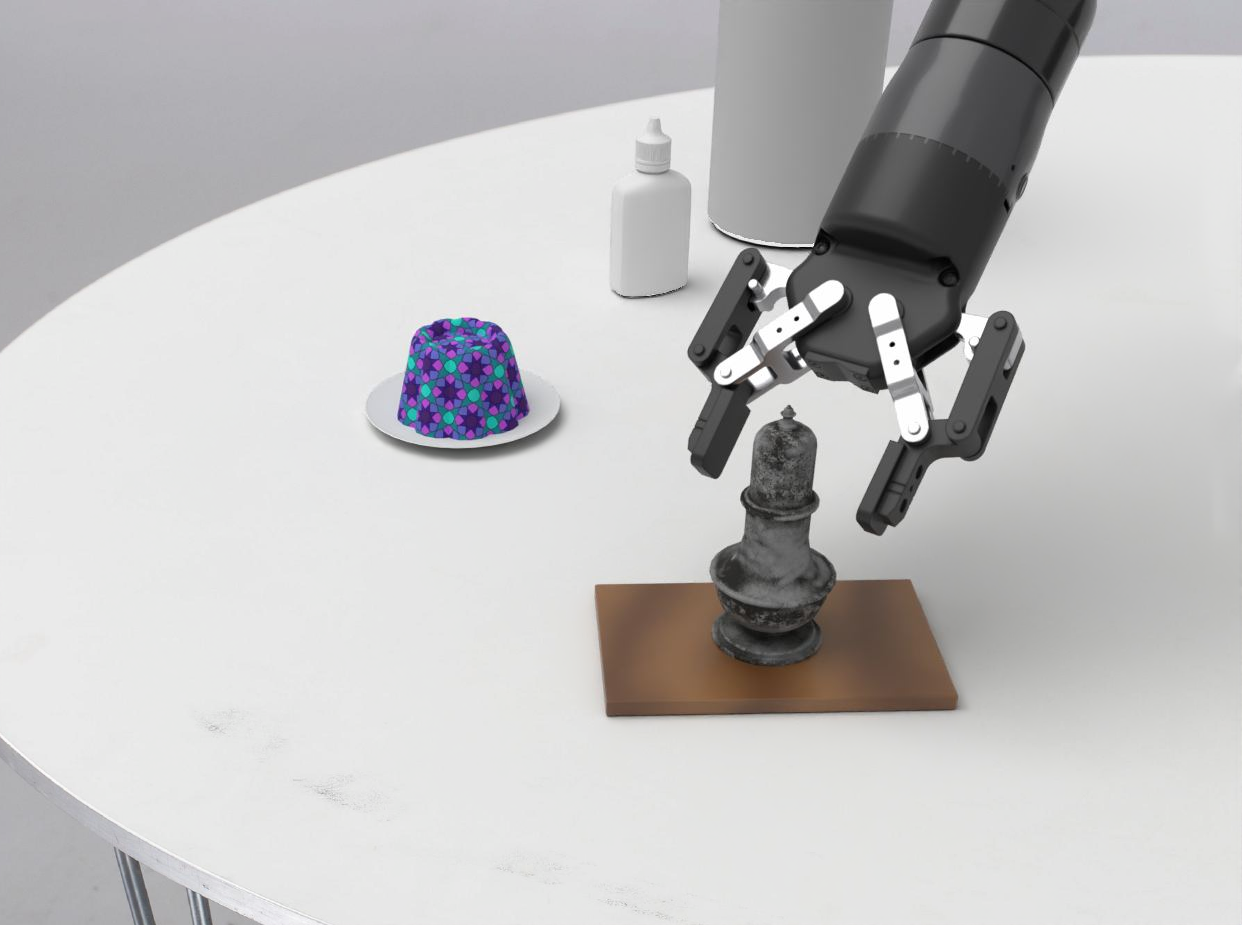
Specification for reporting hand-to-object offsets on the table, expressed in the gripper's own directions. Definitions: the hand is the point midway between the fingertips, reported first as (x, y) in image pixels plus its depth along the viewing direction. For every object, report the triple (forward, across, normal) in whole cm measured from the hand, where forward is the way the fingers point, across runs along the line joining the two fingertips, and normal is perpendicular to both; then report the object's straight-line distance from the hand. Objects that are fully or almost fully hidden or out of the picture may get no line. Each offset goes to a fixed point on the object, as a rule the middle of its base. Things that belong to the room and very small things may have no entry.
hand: (783, 499), depth 68 cm
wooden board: (+6, 0, +6) cm, 9 cm away
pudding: (-2, -29, +14) cm, 32 cm away
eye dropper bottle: (-18, -31, +30) cm, 47 cm away
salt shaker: (+5, 0, +6) cm, 8 cm away
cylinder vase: (-31, -30, +43) cm, 61 cm away
